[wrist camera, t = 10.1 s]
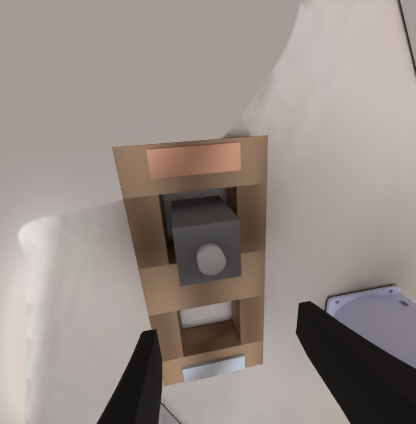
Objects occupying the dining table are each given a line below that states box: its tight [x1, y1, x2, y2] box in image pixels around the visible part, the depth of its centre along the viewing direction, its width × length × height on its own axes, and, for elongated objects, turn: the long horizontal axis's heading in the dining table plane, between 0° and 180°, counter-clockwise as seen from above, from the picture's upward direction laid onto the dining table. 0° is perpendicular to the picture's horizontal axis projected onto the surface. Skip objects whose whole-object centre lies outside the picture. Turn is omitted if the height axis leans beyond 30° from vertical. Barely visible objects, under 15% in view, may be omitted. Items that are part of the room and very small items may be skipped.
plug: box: [172, 196, 241, 287], centre depth 15 cm, size 4×4×7 cm
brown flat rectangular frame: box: [112, 135, 268, 386], centre depth 18 cm, size 10×22×3 cm, turn 4°
